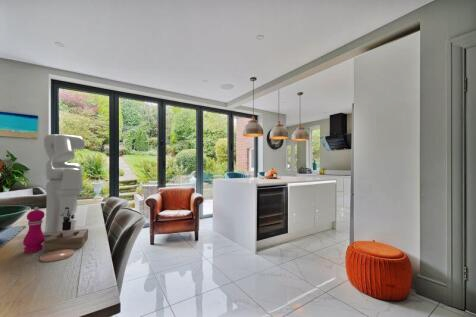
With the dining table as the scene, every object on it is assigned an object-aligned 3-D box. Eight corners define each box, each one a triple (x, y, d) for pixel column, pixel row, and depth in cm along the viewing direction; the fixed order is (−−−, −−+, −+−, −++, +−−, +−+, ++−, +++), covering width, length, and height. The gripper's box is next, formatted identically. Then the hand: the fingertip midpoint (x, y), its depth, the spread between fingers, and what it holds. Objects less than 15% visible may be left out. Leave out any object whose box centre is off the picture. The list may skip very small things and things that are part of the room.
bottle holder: (55, 241, 108) (55, 231, 108) (87, 237, 114) (88, 228, 115) (43, 252, 94) (44, 241, 94) (81, 247, 100) (81, 237, 100)
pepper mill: (30, 254, 92) (33, 208, 93) (17, 252, 93) (21, 207, 95) (48, 248, 99) (50, 206, 100) (36, 246, 101) (39, 205, 102)
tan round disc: (45, 254, 92) (45, 251, 92) (76, 249, 97) (76, 247, 97) (35, 263, 82) (35, 261, 83) (70, 258, 87) (70, 256, 87)
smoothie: (57, 242, 100) (59, 213, 101) (61, 238, 106) (63, 210, 107) (74, 240, 103) (75, 212, 104) (77, 236, 109) (78, 209, 110)
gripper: (66, 190, 112) (64, 224, 111) (55, 195, 96) (52, 234, 96) (83, 190, 115) (81, 223, 114) (75, 194, 100) (73, 232, 99)
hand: (68, 227), depth 105 cm, fingers closed on smoothie, 6 cm apart
